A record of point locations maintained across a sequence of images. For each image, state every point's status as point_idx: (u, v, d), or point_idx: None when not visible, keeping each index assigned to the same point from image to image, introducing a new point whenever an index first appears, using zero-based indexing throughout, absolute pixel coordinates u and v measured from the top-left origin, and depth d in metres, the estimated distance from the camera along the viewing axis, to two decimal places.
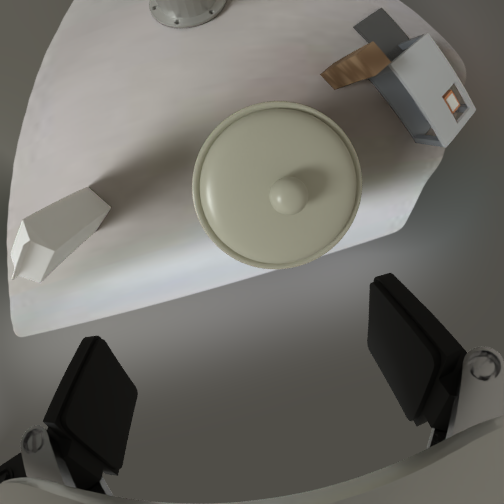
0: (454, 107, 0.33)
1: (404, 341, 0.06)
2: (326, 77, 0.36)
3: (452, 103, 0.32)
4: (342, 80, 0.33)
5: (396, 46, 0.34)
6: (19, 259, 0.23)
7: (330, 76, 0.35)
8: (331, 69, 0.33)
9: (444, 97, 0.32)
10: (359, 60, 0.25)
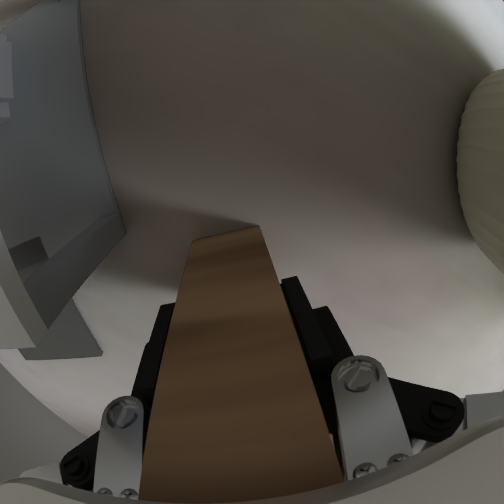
0: None
1: None
2: None
3: None
4: None
5: None
6: None
7: None
8: None
9: None
10: None
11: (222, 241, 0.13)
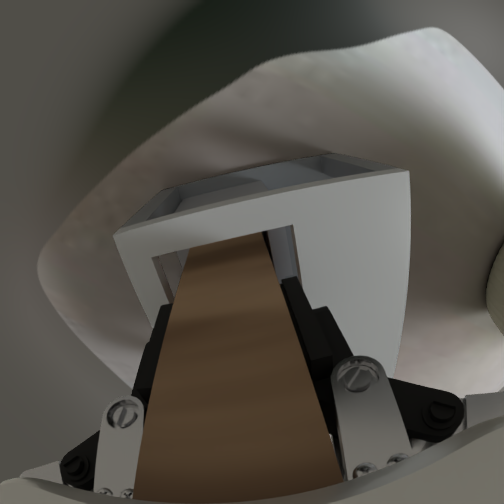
0: None
1: None
2: None
3: None
4: None
5: None
6: None
7: None
8: None
9: None
10: None
11: None
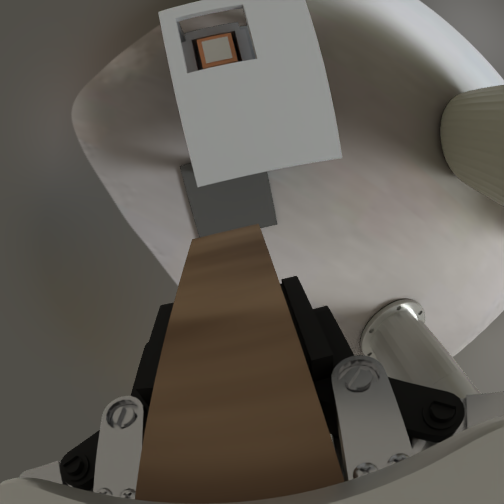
0: (216, 39, 0.20)
1: None
2: None
3: (218, 47, 0.20)
4: None
5: None
6: None
7: None
8: None
9: (231, 62, 0.21)
10: None
11: (222, 239, 0.13)
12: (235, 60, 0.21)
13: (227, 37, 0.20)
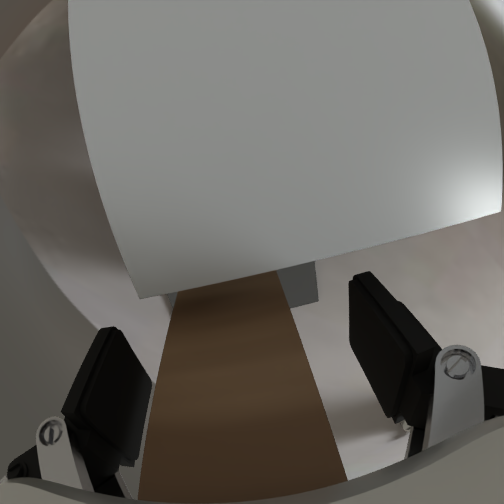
0: None
1: (379, 338, 0.07)
2: None
3: None
4: None
5: None
6: None
7: None
8: None
9: None
10: None
11: None
12: None
13: None
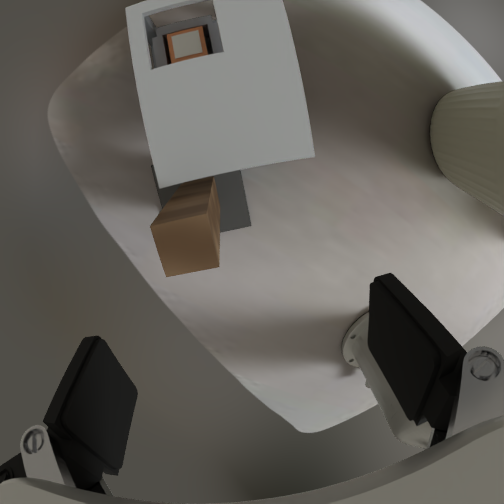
0: (186, 33, 0.18)
1: (404, 341, 0.06)
2: (218, 201, 0.28)
3: (188, 41, 0.18)
4: (214, 194, 0.24)
5: None
6: None
7: (217, 203, 0.27)
8: (219, 218, 0.25)
9: None
10: (216, 249, 0.17)
11: (195, 181, 0.27)
12: (205, 54, 0.19)
13: (198, 31, 0.18)
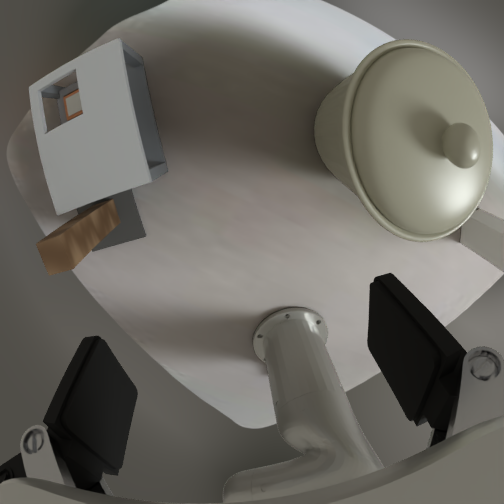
0: (75, 94, 0.23)
1: (404, 341, 0.06)
2: (115, 219, 0.33)
3: (75, 101, 0.24)
4: (100, 216, 0.29)
5: None
6: None
7: (110, 221, 0.32)
8: (106, 233, 0.30)
9: None
10: (72, 257, 0.22)
11: (99, 204, 0.32)
12: None
13: None
